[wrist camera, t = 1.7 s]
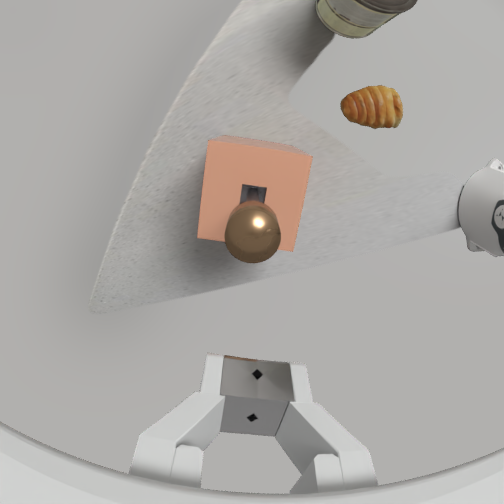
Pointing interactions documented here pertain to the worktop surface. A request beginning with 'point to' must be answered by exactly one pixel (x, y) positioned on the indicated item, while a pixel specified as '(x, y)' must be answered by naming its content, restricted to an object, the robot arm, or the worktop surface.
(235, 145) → the block
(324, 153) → the worktop surface
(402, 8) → the coffee can
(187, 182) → the worktop surface
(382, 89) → the pastry
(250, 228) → the plunger
